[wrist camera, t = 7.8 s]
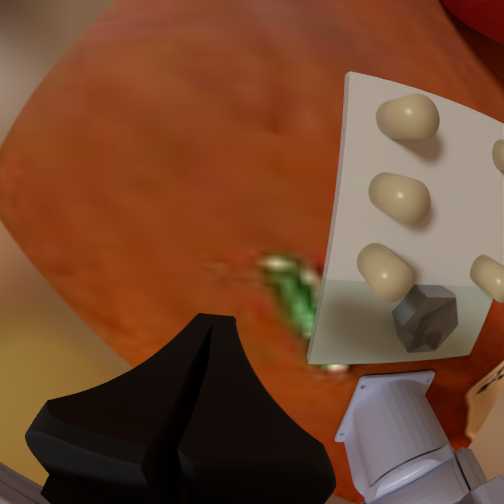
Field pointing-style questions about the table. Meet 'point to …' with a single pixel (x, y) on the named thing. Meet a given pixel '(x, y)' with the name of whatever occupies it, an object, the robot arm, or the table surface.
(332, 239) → the board
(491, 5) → the ceramic cup
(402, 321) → the grey faceted polyhedron
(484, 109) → the table surface
